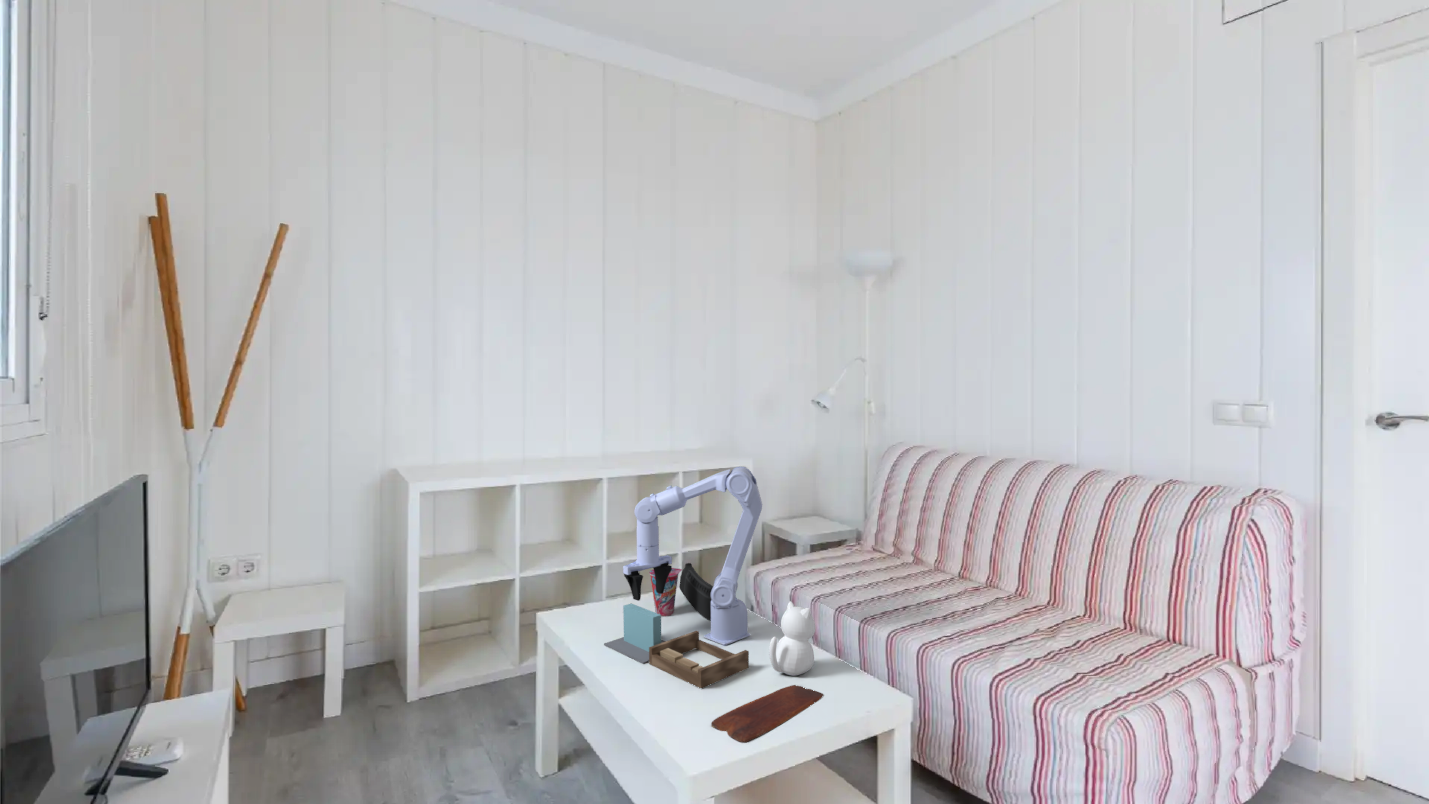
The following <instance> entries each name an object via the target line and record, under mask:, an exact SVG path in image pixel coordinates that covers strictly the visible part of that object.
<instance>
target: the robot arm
mask: <svg viewBox="0 0 1429 804" xmlns="http://www.w3.org/2000/svg"><path fill="white" fill-rule="evenodd" d="M727 490H728V492H729V493H730V494H731V495H732V496H733V497H735V499H737V501H738V503H739V504H740V507H741V508H742V511H741V514H740V518H739V520H738V524H737V526H736V529H735V532H734V534H733V537H732V540H731V544H730V547H729V549H728V552H727V555H726V558H725V561H724V564H723V567H722V569H721V571H720V573H719V574H718V575H717V576H716V577H715V579H714V581H713V585H712V586H713V588H712V591H711V599H712V600H711V621H710V632H708V633H707V634H704V635H703V637H704V638H705V639H708V640H710V641H713V642H715V643H718V644H720V645H723V646H727V645H729V644H732V643H734V642H737V641H739V640H742V639H745V638H748V637H750V636H751V633H749V632H748V631H749V630H748V629H749V624H748V623H749V622H748V621H749V620H748V608H747V605H746V603H745V602H744V601H743V600H741V599H739V598H737V596H736V595H737V590H738V586H739V584H738V579H739V576H740V574H741V570H742V567H743V565H744V561H745V560H746V559H745V558H746V556H747V553H748V549H749V548H750V544H751V542H752V538H753V536H754V533H755V531H756V530H755V529H756V527H757V524H758V522H759V518H760V516H761V513H762V509H763V501H762V498H761V494H760V490H759V486H758V482H757V479H756V478H755V476H754V474H753V473H752V472H751V470H750V469H749V468H747V467H746V466H741V465H740V466H736V467H734V468H732V470H731V469H730V468H729V469H725V470H723V471H720V472H717V473H714V474H712V475H710V476H708V477H706V478H703V479H701V480H699V481H697V482H696V481H695V483H692V484H690V485H688V486H685V487H680V486H677V485H675V486H672V485H669V486H667V487H666V488H665V489H664V490H662V491H660V492H657V493H651V494H650V495H649V496H646V497H644V498H642V499H641V500H640V501H638V503H637V504H636V505H635V506H634V507H635V508H634V516H635V519H636V560H635V561H633V562H631V563H628V564H626V565H623V566H622V571H623V572H622V573H623V576H624V577H625V579H626V581H627V583H628V585H629V588H630V591H631V594H632V599H633V600H634V601H641V597H642V596H641V595H642V594H641V593H642V583H643V579H644V575H643V574H640V572H641V571H646V570H649V569H652V570H654V573H655V580H656V592H657V593H660V594H663V592H664V587H665V584H666V580H667V578H668V575H669V574H670V572H671V570H672V568H673V567H672V563H673V558H672V556H671V555H668V554H667V555H662V556H661V555H660V545H659V544H660V538H659V537H660V536H659V535H660V533H659V531H660V529H659V528H660V526H659V516H665V515H667V514H669V513H672V512H674V511H677V510H679V509H681V508H684V507H685V506H686V505H687V504H686V503H687V502H688V500H691V499H693V498H696V497H699V496H702V495H704V494H707V493H710V492H712V491H717V492H722V493H726V492H727Z"/></svg>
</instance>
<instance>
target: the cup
mask: <svg viewBox="0 0 1429 804" xmlns="http://www.w3.org/2000/svg"><path fill="white" fill-rule="evenodd" d="M682 570H683V569H681V568H675V567H672V570H671V572H670V574H669V575H668V578H667V580H666V584H665V587H664V592H663V594H660V593H657V592H656V580H655V573H654V569H652V570H650V571H649V575H650V581H651V589H652V597H653V601H654V602H653V603H654V604H653V605H654V610H655V613H657V614H660V615H661V617H671V616H672V615H674V613H675V605H676V593H677V587H678V579H679V575H680V573H681V572H682Z"/></svg>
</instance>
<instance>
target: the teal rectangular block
mask: <svg viewBox="0 0 1429 804" xmlns="http://www.w3.org/2000/svg"><path fill="white" fill-rule="evenodd" d="M622 610H623V612H622V613H623V637H624V641H626V642H628V643H630V644H633V645H635V646H637V647H639V648H641V649H644V650H646V651H648V652H649V647H652V646H654V645H657V644H660V643H661V639H662V616H661V615H660V614H657V613H656V612H654V611H652V610H650V609H647V608H644V607H642V606H639V605H638V604H634V603H628V604H624V605H623V609H622Z"/></svg>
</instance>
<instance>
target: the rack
mask: <svg viewBox="0 0 1429 804" xmlns="http://www.w3.org/2000/svg"><path fill="white" fill-rule="evenodd" d="M665 641H666V642H663V643H660V644H657V645H654V646H652V647H649V662H648V664H649V665H650V666H652V667H655V668H657V669H659V670H661V671H663V672H666V673H667V674H670V675H671V676H673V677H675V678H677V679H679V680H682V681H684V682H686V683H688V682H689V683H688V684H690V685H692V684H693V685H692V686H694V685H695V686H694V687H696V688H698V687H699V688H698V689H700V688H702V689H704V688H706V687H709V686H711V685H713V684H715V682H716V683H718V682H720V681H723V680H725V679H727V678H730V677H732V676H735V675H736V674H739V673H741V672H743V671H745V670H748V669H749V667H750V663H749V662H750V659H749V658H750V657H749V654H750V652H749V650H747V649H744V650H742V651H739V652H736V653H733V652H732V651H728V650H726V649H723V648H721V647H718V646H716V645H714V644H711V643H709V642H706V641H703V640H701V639H700V631H699V630H694V631H691V632H688V633H686V634H683V635H680V636H677V637H675V638H672V639H669V640H665ZM667 648H669V649H671V650H674V651H676V652H678V653H680V654H683V655H684V654H686V653H688V652H691V651H693V650H698V651H701V652H704V653H705V654H708V655H710V656H713V657H716V658H718V659H720V660H717V661H715V662H713V663H710V664H708V665H705V666H702V668H700V669H698V673H696V672H694V671H692V670H690V669H688V668H685V667H683V666H681V665H679V664H677V663H675V662H672V661H670V660H668V659H666V658H664V657H661V656H660V651H661V650H664V649H667ZM729 676H730V677H729ZM722 679H723V680H722ZM710 684H711V685H710ZM708 685H709V686H708Z"/></svg>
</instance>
